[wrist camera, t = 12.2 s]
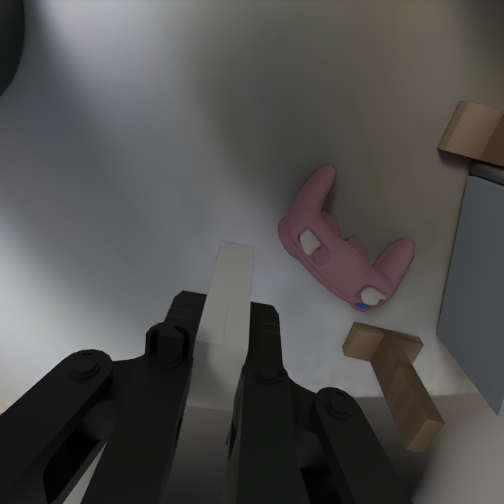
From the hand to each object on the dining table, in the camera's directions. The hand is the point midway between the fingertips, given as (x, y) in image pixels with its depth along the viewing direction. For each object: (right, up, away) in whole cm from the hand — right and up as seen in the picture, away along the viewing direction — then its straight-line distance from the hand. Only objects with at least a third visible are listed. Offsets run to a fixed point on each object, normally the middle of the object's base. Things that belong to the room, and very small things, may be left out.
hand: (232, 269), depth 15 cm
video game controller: (+8, +3, +10) cm, 13 cm away
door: (+17, 0, +9) cm, 20 cm away
